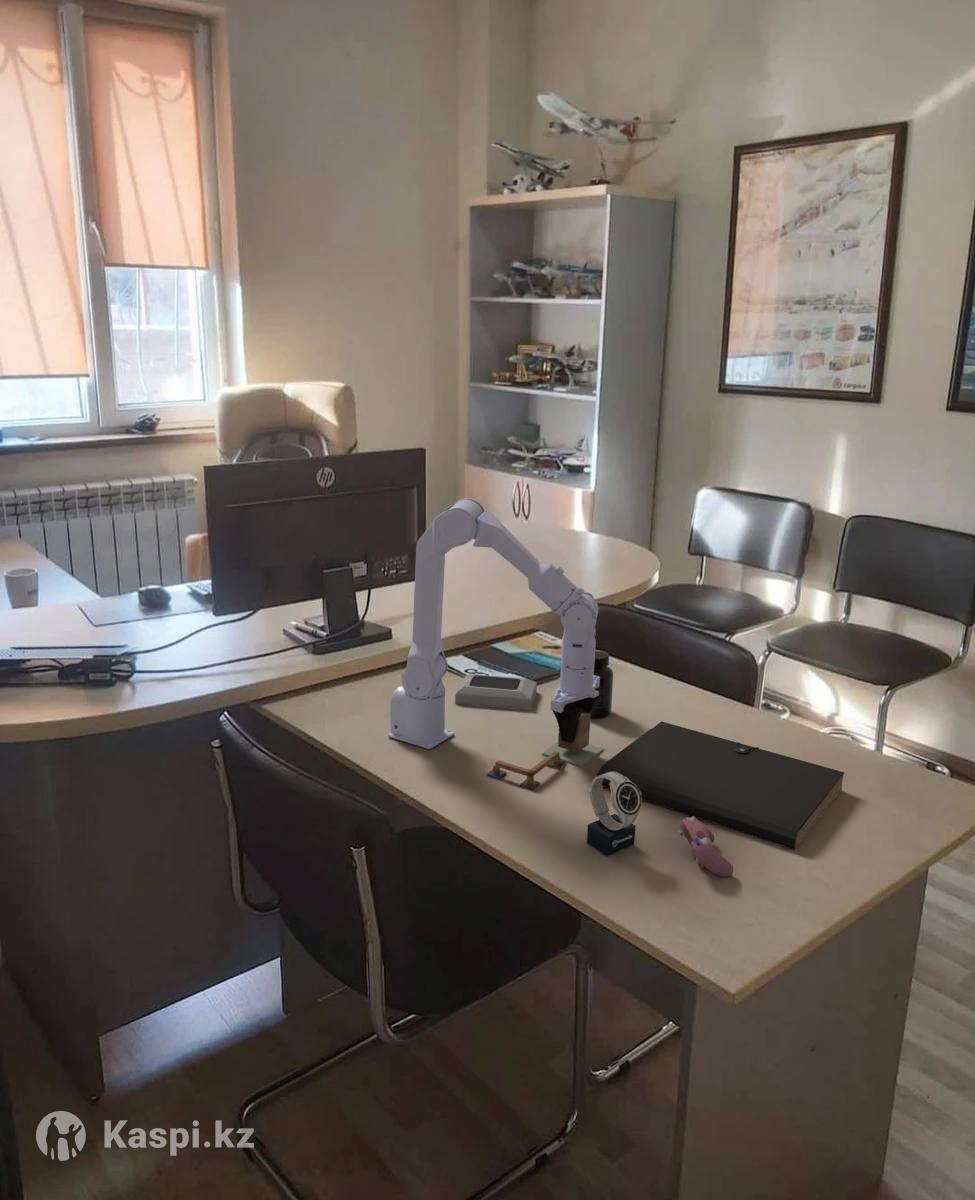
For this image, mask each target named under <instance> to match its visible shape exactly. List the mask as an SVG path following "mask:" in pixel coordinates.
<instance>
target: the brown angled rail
mask: <svg viewBox="0 0 975 1200" xmlns="http://www.w3.org/2000/svg"><path fill="white" fill-rule="evenodd" d="M566 765H567V762H564V761H561V760H560V756H559V752H556V751H555V752H553V753H552V754H550V755H549V756H548V757H547V756H545V758H544V759H542V760H541V761H540V762H538V763H537V764H536V765H534V766H533V767H532V768H530V769H527V768H524V767H521V766H520V765H519V766H518V765H514V764H511V763H509V762H505V761H501V760H496V761H495V764H493V768H492V769H490V770H489V771H488V772H486V777H490V778H493V779H497V780H500V779H502V778H503V777H505V775H507V771H509V772H513V773H516V774H519V775H522V776H526V779H525V780H523V781H522V782H520V783H519V787H522V788H526V789H529V790H532V791H533V790H535V789H536V788H538V787H539V786H540V785H541V782H540V781H537V780H535V779H534V777H535V775H537V773H539V772H541V771H542V770H543V769H545V768H546V767H550V768H553V769H555V770H561V769H562V768H564V767H565V766H566ZM502 769H503V770H502ZM505 770H506V771H505Z"/></svg>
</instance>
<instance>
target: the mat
mask: <svg viewBox="0 0 975 1200" xmlns="http://www.w3.org/2000/svg"><path fill="white" fill-rule="evenodd" d="M555 751H556V752H559V756H560V761H564V762H566V763H569V764H572V765H576V766H578V767H582V768H583V767H584V766H586V765H587V764H588V763H590V761H592V760H593V759H594V758H595V757H597V756H598V755H599V754H601V752H604V748H603V747H599V746H596V745H591V744H589V745H587V746H586V747H585V748H583V749H582V750H581V751H579V752H575V751H572V750H568V749H565V748H561V747H558V741H557V742H555V743H554V744H552V745H551V746H549V748H547V749H545V751H543V752H541V755H542V756H545V757H548V756H549V755H550V754H552V753H553V752H555Z"/></svg>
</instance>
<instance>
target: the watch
mask: <svg viewBox="0 0 975 1200" xmlns="http://www.w3.org/2000/svg"><path fill="white" fill-rule="evenodd" d="M604 778H606V779H608V780H609V781H611V782H610V783H609V784H610V788H609V789H610V803H611V806H612V808H613V810H614V811H615V812H616V813H617V814H616V813H613V814H610V813H609V811H610V808H609V805H608V804H607V799H606V795H605V790H604V789H603V786H602V781H603V780H604ZM589 795H590V796H589V797H590V801H591V805H592V810H593V812H594V814H595V817H597V818H598V819H597V820H595V821H592V822H590V823H588V824H587V832H586V844H587V845H589V846H590V847H592V848H593V849H595V850H597V852H600V853H601V852H602V853H601V854H602V855H604V856H605V857H609V856H611V855H614V854H616V853H618V852H620V851H622V850H625V849H627V848H630V847H632V846H634V845H635V842H636V841H635V838H636V827H637V826H636V824H634V823H635V821H636V819H637V817H638V816H639V813H640V809H641V807H642V802H643V799H641V792H640V791H639V789H638V787H637V786H636V785H635V784H634V783H632V782H631V781H630V780H629V779H628V778H627V777H624V776H623V775H621V774H620V773H617V772H608V773H605V774H602V775H600V776H597V777H596V776H595V777H594V778H593V780H592V782H591V784H590V791H589Z"/></svg>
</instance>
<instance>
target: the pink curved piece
mask: <svg viewBox="0 0 975 1200" xmlns="http://www.w3.org/2000/svg"><path fill="white" fill-rule="evenodd" d="M678 822H679V826H680V829H678V830H677V831H678V832H677V833H678V835H679V837H680V838H683V837H685V838H686V839H687V841H688V843H689V845H690V846H691V850H692V851H693V853H694V856H695V857H696V858H695V862H696V864H697V865H699V864H700V866H701V868H702V869H704V868H706V869H708V870H709V871H710V872H712V873H714V874H715V875H718V876H719V877H720V876H721V877H723V878H724V877H725V878H726V877H727V878H728V877H730V876H732V875H733V874H734V866H733V865H732V863H731V862H730V860H728V859H727V858H725V856H723V855H721V854H720V853H719V852H718V851H717V849H716V848H715V846H714V845H713V843H714V842H715V835H714V834H713V832H712V831H711V830H710V829H709V828H707V826H706V825H704V824H703V823H702V822H700V821H699V820H698V818H697V817H695V816H691V817H686V818H682V819H681V820H678Z"/></svg>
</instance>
